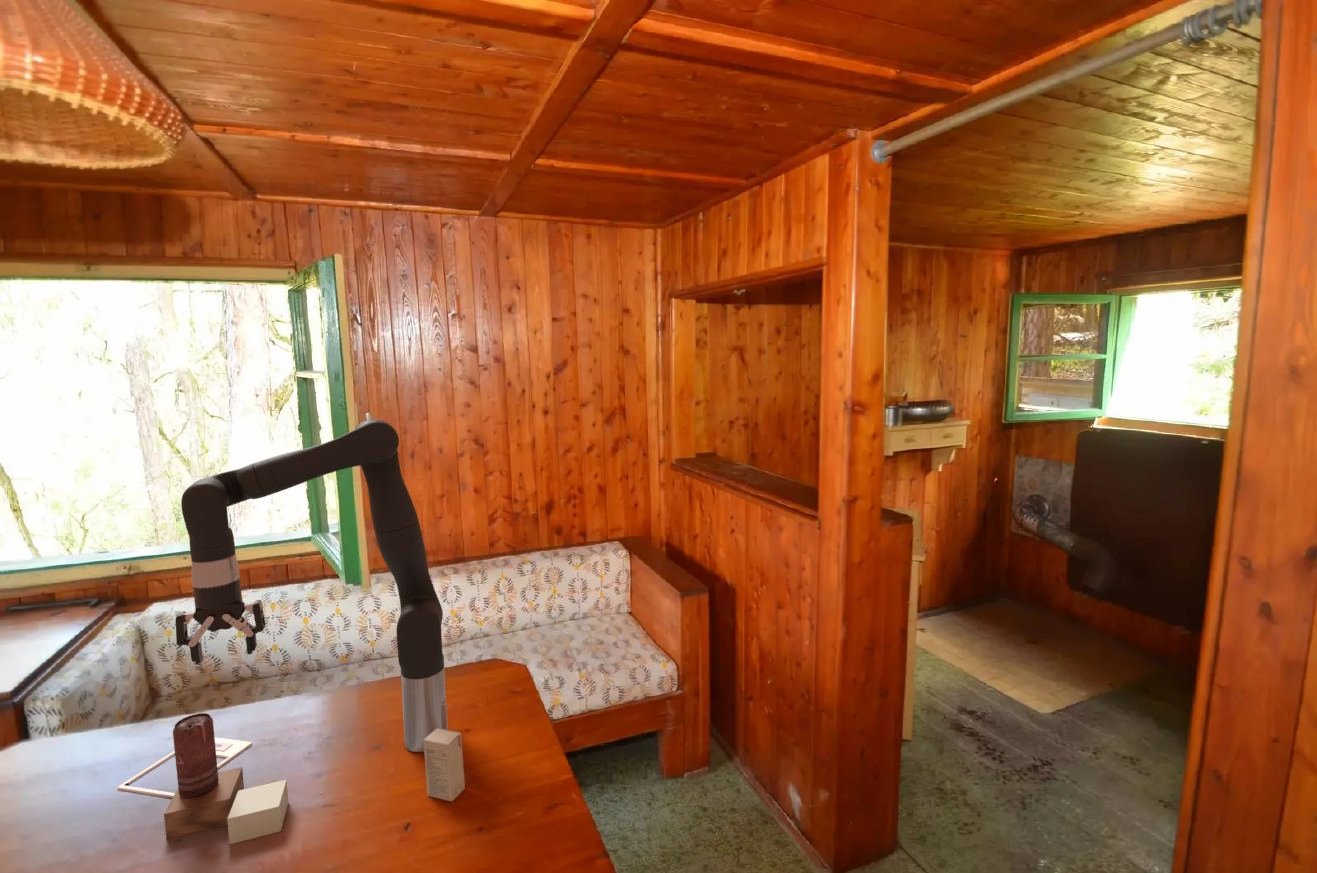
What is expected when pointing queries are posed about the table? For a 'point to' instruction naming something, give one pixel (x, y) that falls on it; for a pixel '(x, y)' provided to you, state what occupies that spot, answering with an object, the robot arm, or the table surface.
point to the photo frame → (223, 749)
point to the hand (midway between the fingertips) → (225, 657)
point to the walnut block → (204, 806)
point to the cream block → (258, 811)
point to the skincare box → (444, 764)
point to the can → (195, 755)
